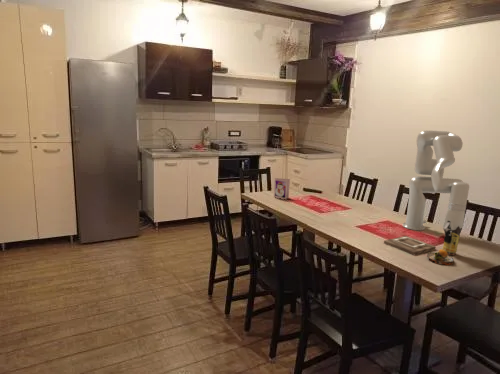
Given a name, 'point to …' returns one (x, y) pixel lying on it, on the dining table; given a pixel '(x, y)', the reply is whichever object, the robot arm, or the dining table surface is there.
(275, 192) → the greeting card
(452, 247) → the sauce bottle
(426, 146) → the robot arm
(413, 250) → the walnut board
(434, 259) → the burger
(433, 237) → the dining table surface
